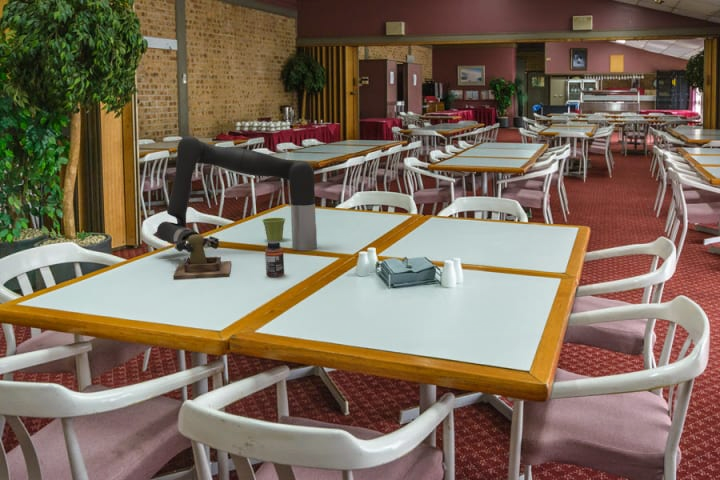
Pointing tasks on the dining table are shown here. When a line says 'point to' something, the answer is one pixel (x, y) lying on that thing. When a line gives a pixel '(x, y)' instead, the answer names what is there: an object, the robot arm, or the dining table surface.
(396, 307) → the dining table surface
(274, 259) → the supplement bottle
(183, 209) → the robot arm
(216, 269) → the condiment stand
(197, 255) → the cork
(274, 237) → the plant pot
